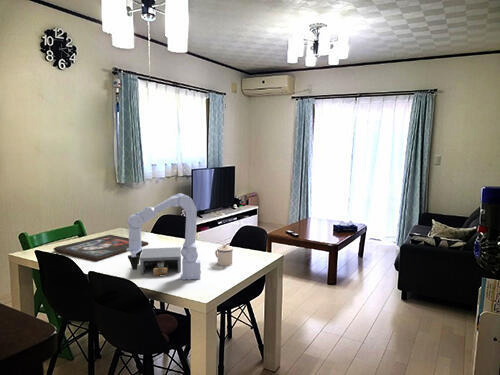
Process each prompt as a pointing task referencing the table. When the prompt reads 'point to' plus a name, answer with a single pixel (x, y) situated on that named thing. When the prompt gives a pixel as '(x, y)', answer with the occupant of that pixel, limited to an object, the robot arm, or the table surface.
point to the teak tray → (160, 268)
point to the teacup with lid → (224, 255)
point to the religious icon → (97, 247)
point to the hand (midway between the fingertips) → (135, 267)
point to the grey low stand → (160, 256)
